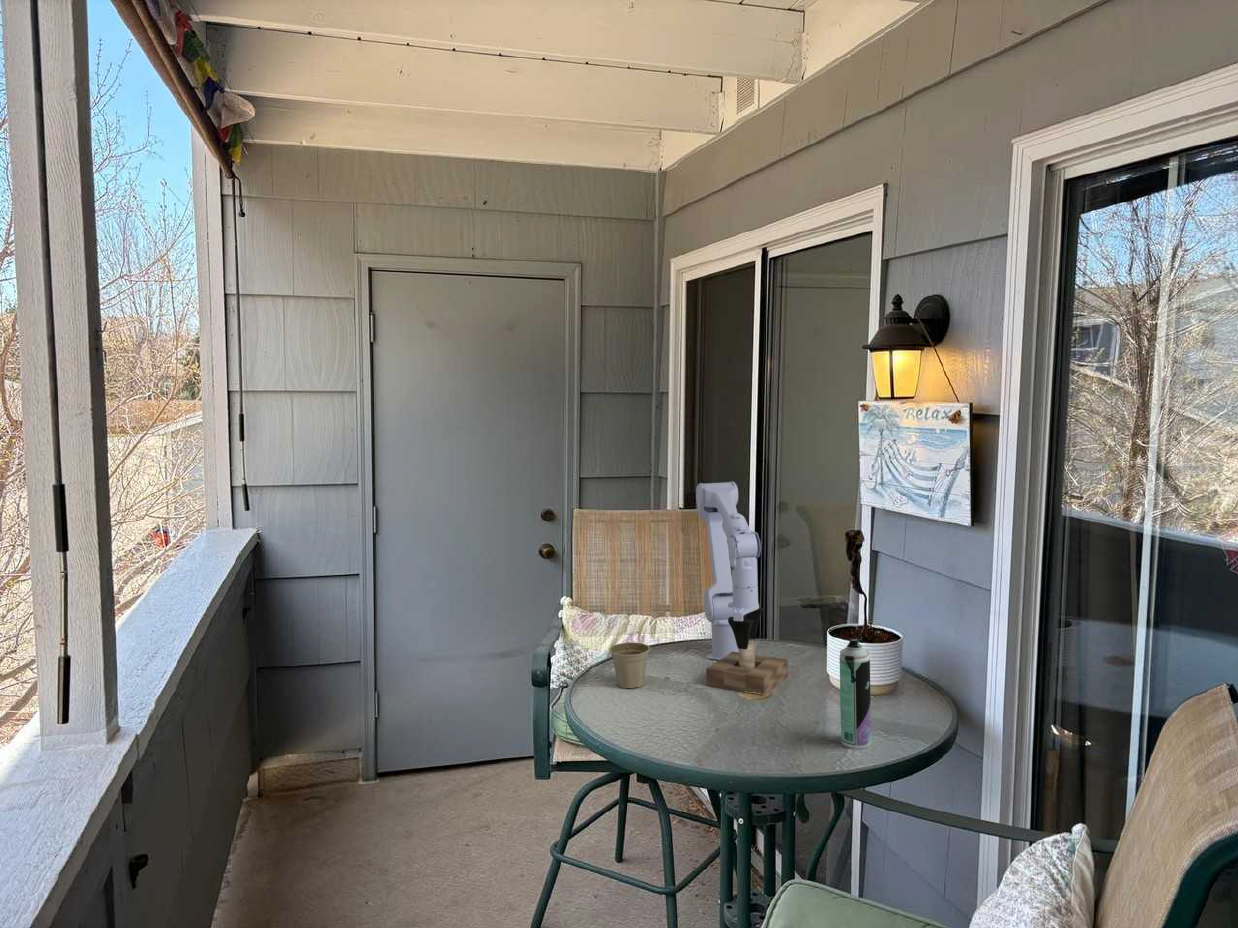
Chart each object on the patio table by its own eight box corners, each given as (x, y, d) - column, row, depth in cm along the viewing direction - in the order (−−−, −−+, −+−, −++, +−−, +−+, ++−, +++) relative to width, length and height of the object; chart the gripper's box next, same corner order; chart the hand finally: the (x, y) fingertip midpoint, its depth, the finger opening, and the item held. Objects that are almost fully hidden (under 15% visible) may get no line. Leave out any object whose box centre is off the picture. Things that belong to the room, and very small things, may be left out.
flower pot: (651, 691, 191) (650, 653, 190) (610, 692, 191) (608, 655, 190) (651, 677, 200) (649, 641, 199) (611, 678, 200) (609, 642, 200)
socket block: (733, 667, 204) (732, 651, 204) (787, 676, 197) (787, 659, 196) (706, 685, 193) (706, 668, 192) (764, 695, 185) (763, 677, 185)
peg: (741, 673, 197) (740, 640, 196) (756, 674, 196) (755, 640, 195) (738, 678, 194) (737, 644, 193) (753, 679, 192) (752, 645, 192)
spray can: (872, 749, 156) (870, 644, 154) (841, 748, 157) (839, 643, 155) (869, 737, 161) (868, 635, 159) (840, 736, 162) (838, 634, 161)
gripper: (735, 577, 201) (737, 633, 202) (719, 592, 188) (721, 651, 189) (765, 578, 198) (766, 635, 200) (750, 593, 185) (752, 654, 186)
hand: (746, 643), depth 194 cm, fingers open, 7 cm apart
